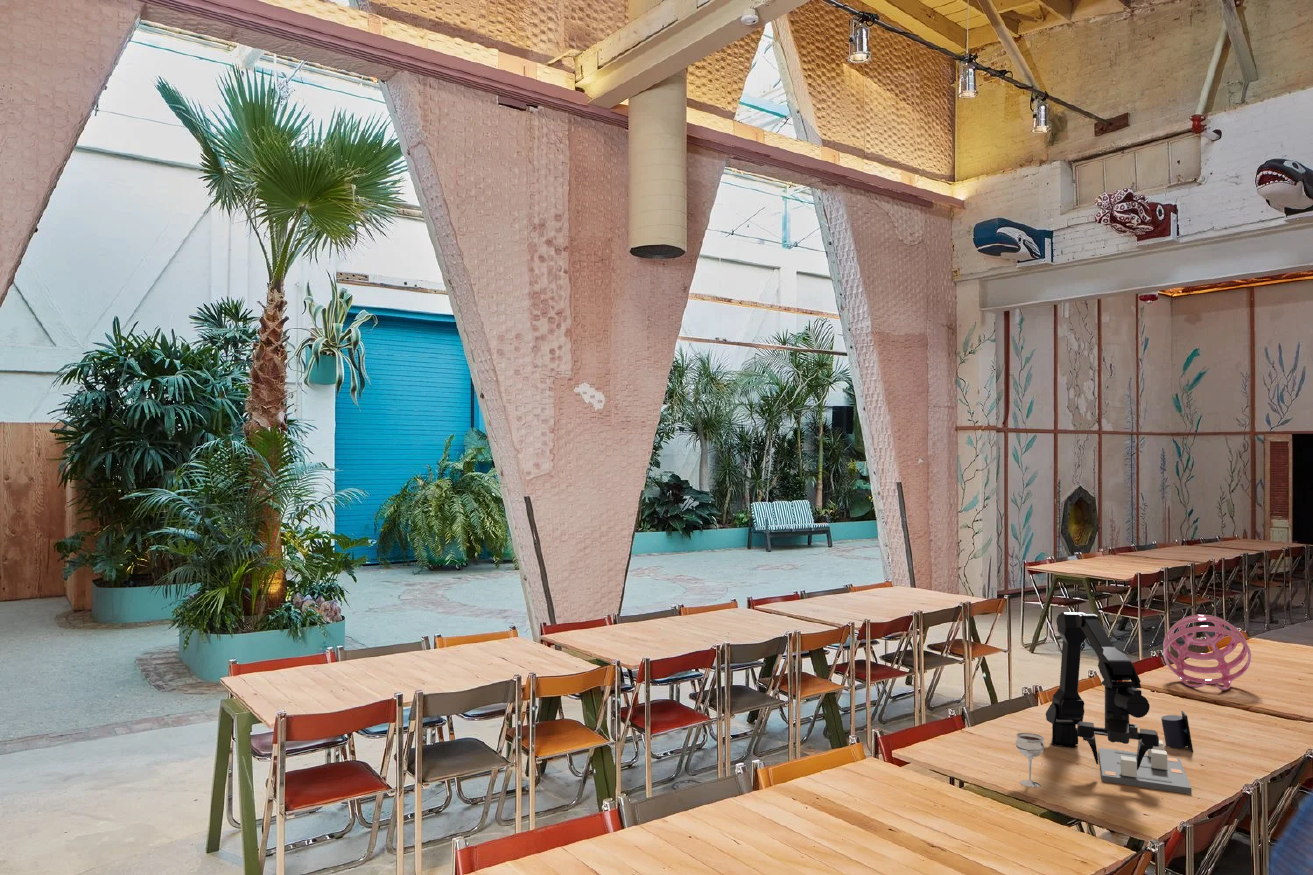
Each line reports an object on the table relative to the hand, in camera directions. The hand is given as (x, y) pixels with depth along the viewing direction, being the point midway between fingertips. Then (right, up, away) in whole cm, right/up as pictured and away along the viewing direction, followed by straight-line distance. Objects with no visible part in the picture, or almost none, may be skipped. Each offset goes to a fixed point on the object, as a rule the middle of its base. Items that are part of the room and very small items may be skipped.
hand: (1117, 766), depth 231 cm
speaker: (+32, -5, +28) cm, 43 cm away
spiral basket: (+86, -8, +101) cm, 133 cm away
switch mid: (+14, -2, +5) cm, 15 cm away
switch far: (+18, -2, +14) cm, 23 cm away
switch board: (+10, -4, +6) cm, 12 cm away
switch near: (+2, -1, -1) cm, 3 cm away
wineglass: (-24, -3, -3) cm, 25 cm away
